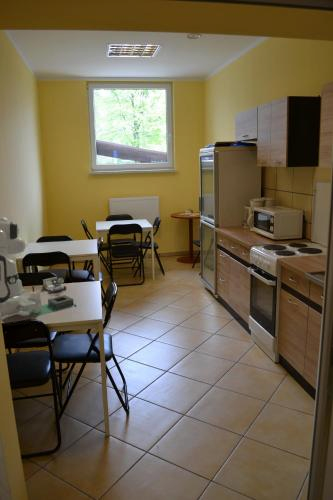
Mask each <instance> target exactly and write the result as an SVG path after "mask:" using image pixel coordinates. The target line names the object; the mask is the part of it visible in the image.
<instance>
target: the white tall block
mask: <svg viewBox="0 0 333 500" xmlns="http://www.w3.org/2000/svg"><path fill="white" fill-rule="evenodd" d="M31 289H32V291H29V297H30V299H31V301H36V300H40V303H38V304H36V309H34V310H32V312H34V313H38V312H42V299H41V292H40V291H38V290H35V286H34V285H32V286H31Z"/></svg>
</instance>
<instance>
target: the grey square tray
mask: <svg viewBox="0 0 333 500" xmlns="http://www.w3.org/2000/svg"><path fill="white" fill-rule="evenodd" d="M47 304H48V305H50V306H51V307H53V308H55V309H60V308H63V307H67V306H70V305H74V304H75V303H74V299H73V297H72V298H71V297H70V296H68V295H66V294H64V295H60V296H57V297H56V296H55V297H52V298H48V299H47ZM67 308H68V307H67Z"/></svg>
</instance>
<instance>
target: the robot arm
mask: <svg viewBox="0 0 333 500" xmlns="http://www.w3.org/2000/svg"><path fill="white" fill-rule="evenodd" d="M19 234H20V227H19V225H18V223H16V222H14V221H13V222H12V221H9V219H8V218H6V217H4V216H0V313H1V317H0V318H3V317H5V316H11V315H15V314H18V313H19V312H20V311H21V312H28V311H29V310H34V309H36V304H38V303H40V300H36V301H31V299H30V296H29V297H26V296H24V295H22V294H23V293H25V292H26V289H24V288H23V284H22V283H23V282H22V280H21V279H20V277H19V276H20V275H19V273H18V268H17V262H16V261H14V260H13V259H11V258H8V255H16V254H20V253H23V252H24V251H25V249H26V242H25V240H24V239H23V238H21V237H19Z"/></svg>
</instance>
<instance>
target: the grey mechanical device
mask: <svg viewBox="0 0 333 500" xmlns="http://www.w3.org/2000/svg"><path fill="white" fill-rule="evenodd" d="M42 282H43V285H42V289H43V290H47V291H48V292H49V294H53V292H58V291H61V290H65V291H66V290H67V286H66V285H63V286H62V283H64V278H63V277H58V276H54V277H50V278H46V279H42Z"/></svg>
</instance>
